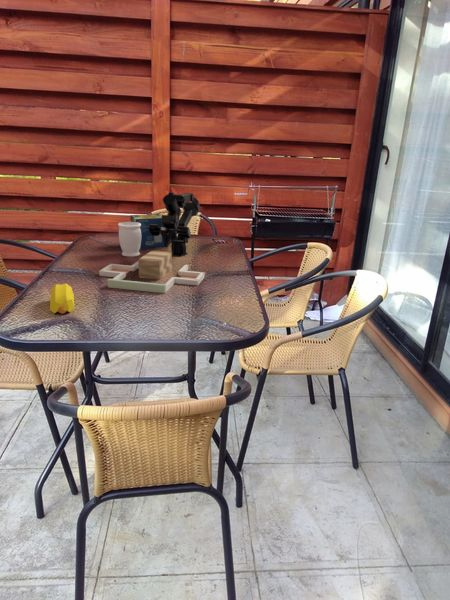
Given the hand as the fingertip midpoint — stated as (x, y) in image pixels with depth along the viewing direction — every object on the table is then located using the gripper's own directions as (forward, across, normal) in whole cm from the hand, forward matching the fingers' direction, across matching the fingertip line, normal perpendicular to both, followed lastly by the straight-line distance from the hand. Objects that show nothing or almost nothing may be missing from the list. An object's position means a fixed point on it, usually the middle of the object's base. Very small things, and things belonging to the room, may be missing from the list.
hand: (165, 247), depth 199 cm
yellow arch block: (+46, -18, -34) cm, 60 cm away
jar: (-2, -22, +14) cm, 26 cm away
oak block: (+15, 0, -3) cm, 15 cm away
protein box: (-15, -20, +27) cm, 37 cm away
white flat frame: (+19, 0, -7) cm, 20 cm away
